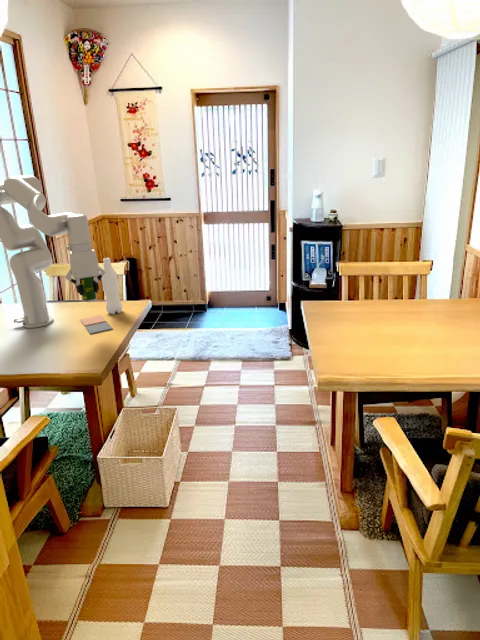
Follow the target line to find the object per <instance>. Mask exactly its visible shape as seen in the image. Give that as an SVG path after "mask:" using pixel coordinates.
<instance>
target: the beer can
mask: <svg viewBox="0 0 480 640" xmlns="http://www.w3.org/2000/svg"><path fill="white" fill-rule="evenodd" d="M80 285H81V290H82V295H81V298H82V301H83V302H84V303H91V302H95V301H97V293H96V291H95V284H94V278H93V277H85V278H81V279H80Z"/></svg>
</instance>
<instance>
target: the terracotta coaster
mask: <svg viewBox="0 0 480 640" xmlns="http://www.w3.org/2000/svg"><path fill="white" fill-rule="evenodd" d="M80 322H81V323H82V325H83V326H84V327H86V326H91V325H95V324H100V323H105V322H107V320H106V319H105V318H104V316H103V315H102V314H100V315H96V316H90V317H86V318H85V317H84V318H81V319H80Z"/></svg>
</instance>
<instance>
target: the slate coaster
mask: <svg viewBox="0 0 480 640" xmlns="http://www.w3.org/2000/svg"><path fill="white" fill-rule="evenodd" d="M85 329H86V330H87V332H88V333H89V335H93V334H98V333H102V332H103V333H104V332H108V331H111V330H114V328H113V327H112V326H111V325H110V324H109V322H107V321H106V322H104V323H99V324H95V325H90V326H85Z"/></svg>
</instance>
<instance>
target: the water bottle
mask: <svg viewBox="0 0 480 640" xmlns="http://www.w3.org/2000/svg"><path fill="white" fill-rule="evenodd" d="M102 261H103V263H102V264H103V268H102V269H103V270H104V271H105V272H106V273H105V274H104V275H103V276H102V278H101V279H100V280H101V284H102V291H103V292H104V296H105V301H106V303H105V309H106V312H107V314H110V315H116V313H117V314H120V313H121V312H122V309H123V303H122V302H121V299H120V293H119V292H120V284H119V278H118V273H117V271H116V270H115V268H114V267H113V266H112V261H111V258H110V257H103V259H102Z"/></svg>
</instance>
